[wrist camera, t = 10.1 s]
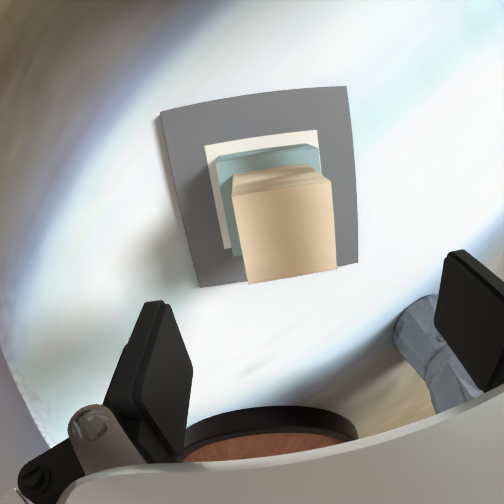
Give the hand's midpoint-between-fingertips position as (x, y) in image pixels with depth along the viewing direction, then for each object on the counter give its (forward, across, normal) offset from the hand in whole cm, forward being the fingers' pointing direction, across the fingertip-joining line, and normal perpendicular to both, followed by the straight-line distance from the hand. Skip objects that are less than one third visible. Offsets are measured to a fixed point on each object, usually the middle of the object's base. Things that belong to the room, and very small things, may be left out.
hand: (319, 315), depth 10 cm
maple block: (+13, 0, 0) cm, 13 cm away
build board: (+18, 0, 0) cm, 18 cm away
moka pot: (+18, -17, +19) cm, 32 cm away
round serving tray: (+19, +6, +44) cm, 48 cm away
